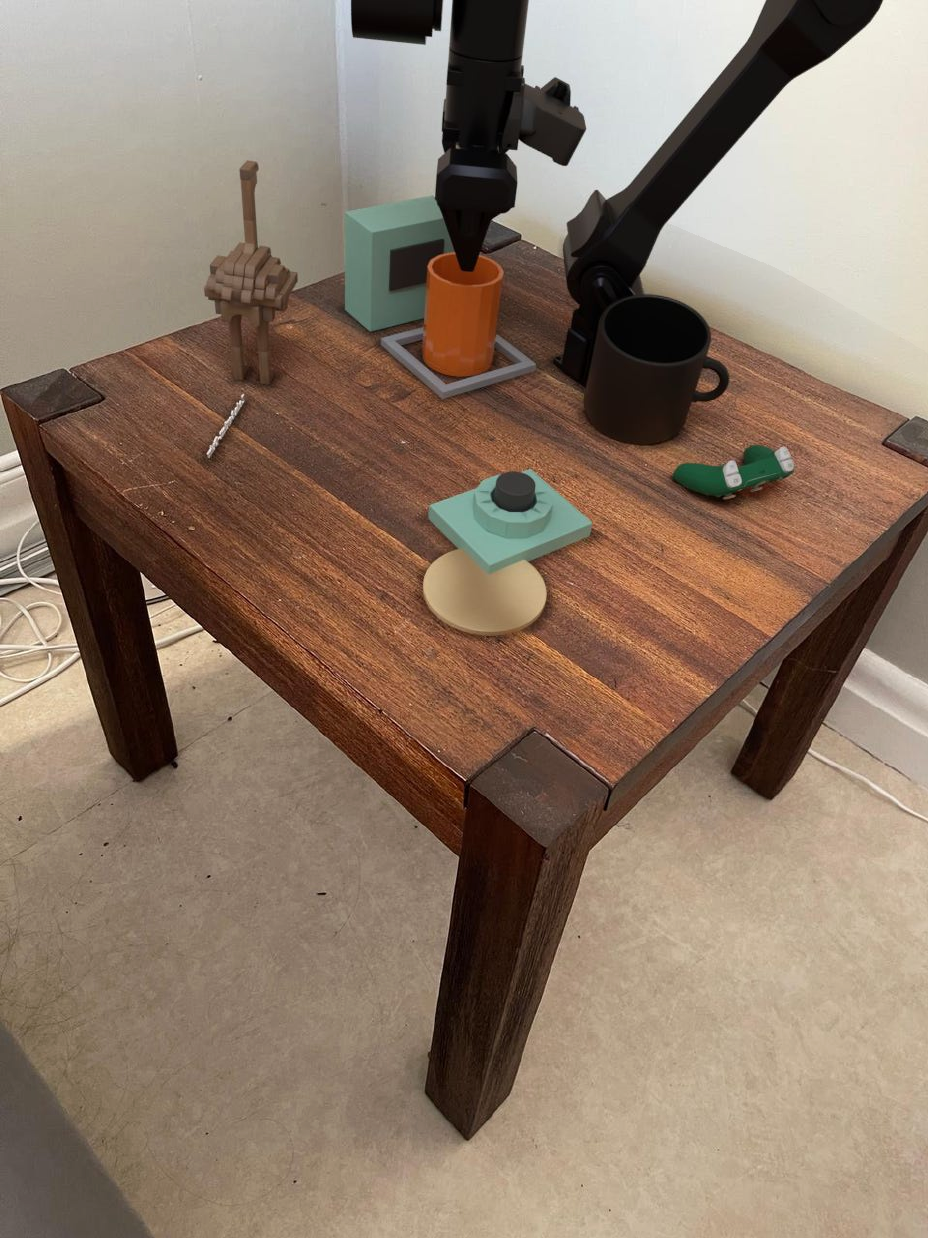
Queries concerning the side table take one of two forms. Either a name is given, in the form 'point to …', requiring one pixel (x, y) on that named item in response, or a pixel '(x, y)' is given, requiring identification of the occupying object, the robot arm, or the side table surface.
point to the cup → (461, 315)
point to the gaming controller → (737, 472)
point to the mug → (648, 368)
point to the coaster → (483, 594)
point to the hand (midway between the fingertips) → (468, 247)
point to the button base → (508, 524)
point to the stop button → (514, 491)
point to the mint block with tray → (405, 283)
